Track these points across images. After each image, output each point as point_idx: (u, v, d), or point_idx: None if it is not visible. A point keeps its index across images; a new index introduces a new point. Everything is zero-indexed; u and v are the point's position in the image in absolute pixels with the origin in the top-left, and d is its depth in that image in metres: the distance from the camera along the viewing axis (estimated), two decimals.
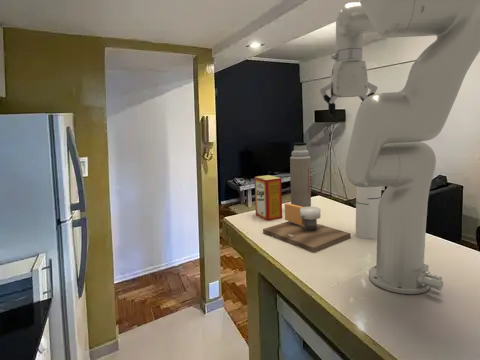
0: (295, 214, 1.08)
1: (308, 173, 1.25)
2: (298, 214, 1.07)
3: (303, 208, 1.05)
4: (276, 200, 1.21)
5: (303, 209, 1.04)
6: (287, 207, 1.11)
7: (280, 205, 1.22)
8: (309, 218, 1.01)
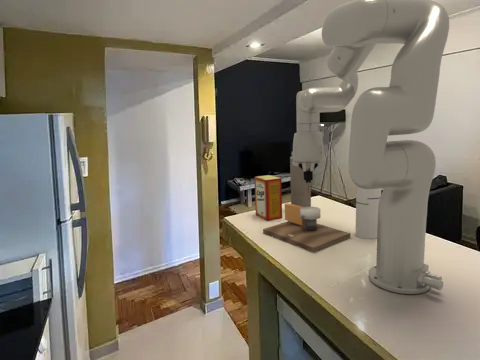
0: (295, 214, 1.08)
1: None
2: (298, 214, 1.07)
3: (303, 208, 1.05)
4: (276, 200, 1.21)
5: (303, 209, 1.04)
6: (287, 207, 1.11)
7: (280, 205, 1.22)
8: (309, 218, 1.01)
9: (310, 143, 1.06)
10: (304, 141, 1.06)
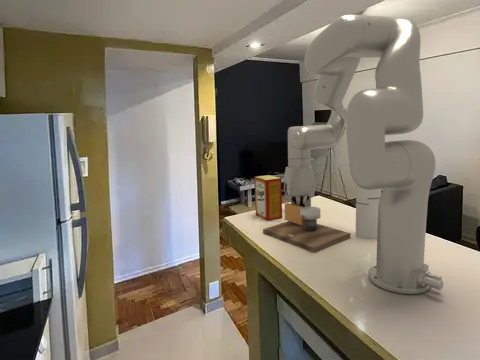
0: (295, 214, 1.08)
1: None
2: (298, 214, 1.07)
3: (303, 208, 1.05)
4: (276, 200, 1.21)
5: (303, 209, 1.04)
6: (287, 207, 1.11)
7: (280, 205, 1.22)
8: (309, 218, 1.01)
9: (304, 177, 1.08)
10: (299, 175, 1.07)
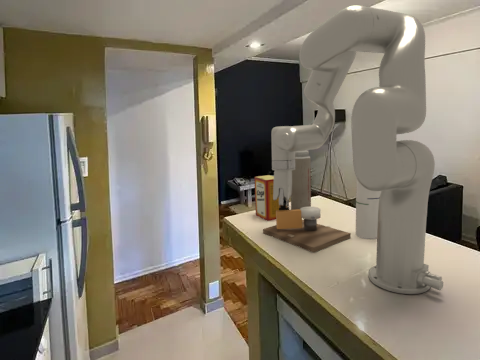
0: (292, 219, 1.03)
1: (308, 173, 1.25)
2: (297, 218, 1.03)
3: (304, 210, 1.03)
4: (276, 200, 1.21)
5: (307, 210, 1.02)
6: (281, 214, 1.03)
7: None
8: (318, 217, 1.02)
9: (291, 179, 1.05)
10: (290, 177, 1.03)
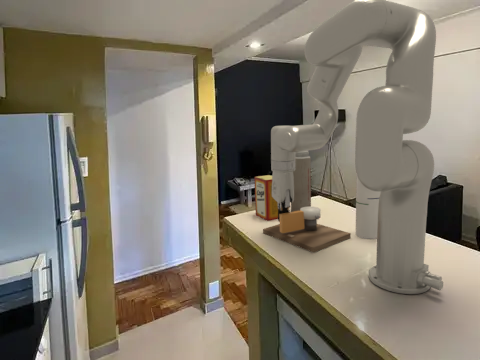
0: (296, 221, 1.01)
1: (308, 173, 1.25)
2: (300, 219, 1.02)
3: (306, 210, 1.02)
4: None
5: (310, 211, 1.02)
6: (286, 217, 0.99)
7: None
8: None
9: None
10: None
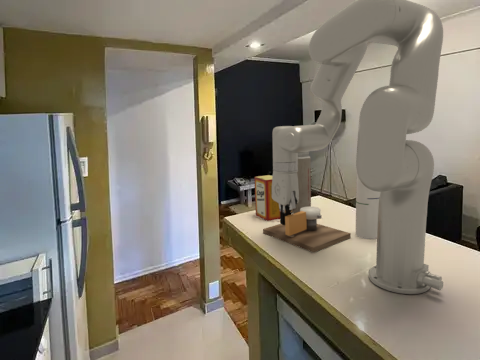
0: (300, 222, 1.00)
1: (308, 173, 1.25)
2: (303, 220, 1.01)
3: (308, 211, 1.02)
4: None
5: (312, 211, 1.01)
6: (292, 219, 0.97)
7: None
8: None
9: None
10: None
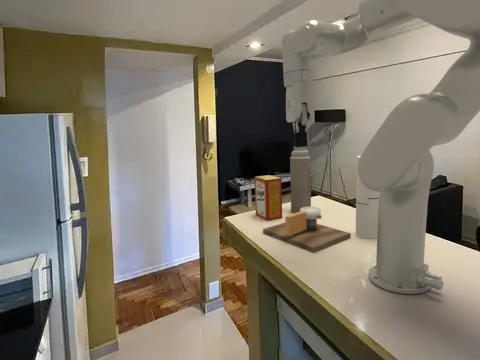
0: (300, 222, 1.00)
1: (308, 173, 1.25)
2: (303, 220, 1.01)
3: (308, 211, 1.02)
4: (276, 200, 1.21)
5: (312, 211, 1.01)
6: (292, 219, 0.97)
7: (280, 205, 1.22)
8: None
9: None
10: None
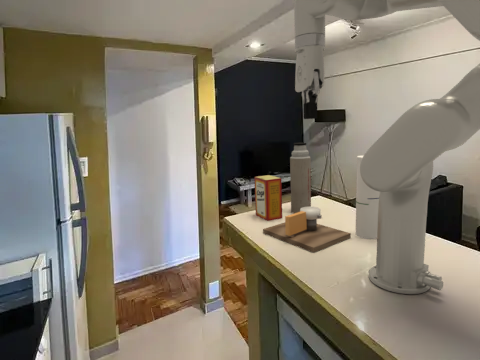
0: (300, 222, 1.00)
1: (308, 173, 1.25)
2: (303, 220, 1.01)
3: (308, 211, 1.02)
4: (276, 200, 1.21)
5: (312, 211, 1.01)
6: (292, 219, 0.97)
7: (280, 205, 1.22)
8: None
9: None
10: None
